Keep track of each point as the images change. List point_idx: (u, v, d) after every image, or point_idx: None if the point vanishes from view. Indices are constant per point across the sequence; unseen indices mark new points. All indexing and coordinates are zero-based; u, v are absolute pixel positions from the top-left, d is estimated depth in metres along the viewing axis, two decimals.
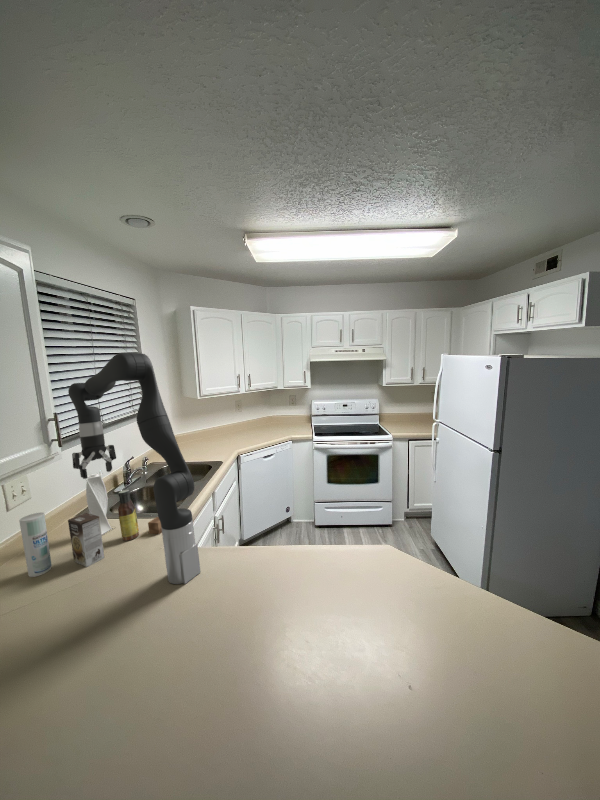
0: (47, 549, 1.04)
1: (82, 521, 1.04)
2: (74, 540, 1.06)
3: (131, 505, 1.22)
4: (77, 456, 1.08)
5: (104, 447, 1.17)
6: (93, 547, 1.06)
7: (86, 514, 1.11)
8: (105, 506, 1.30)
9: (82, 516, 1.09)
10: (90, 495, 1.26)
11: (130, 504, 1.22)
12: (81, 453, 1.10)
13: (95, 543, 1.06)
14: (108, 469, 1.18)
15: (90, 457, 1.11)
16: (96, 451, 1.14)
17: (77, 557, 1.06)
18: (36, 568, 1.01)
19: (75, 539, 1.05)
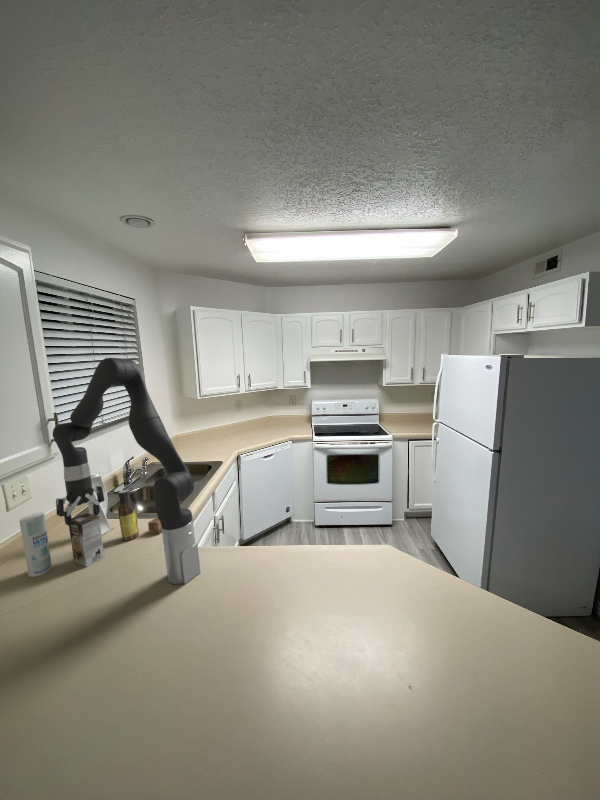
0: (47, 549, 1.04)
1: (82, 521, 1.04)
2: (74, 540, 1.06)
3: (131, 505, 1.22)
4: (61, 503, 1.01)
5: (91, 490, 1.09)
6: (93, 547, 1.06)
7: (86, 514, 1.11)
8: (105, 506, 1.30)
9: (82, 516, 1.09)
10: None
11: (130, 504, 1.22)
12: (66, 499, 1.03)
13: (95, 543, 1.06)
14: (95, 512, 1.11)
15: (75, 502, 1.04)
16: (82, 495, 1.07)
17: (77, 557, 1.06)
18: (36, 568, 1.01)
19: (75, 539, 1.05)
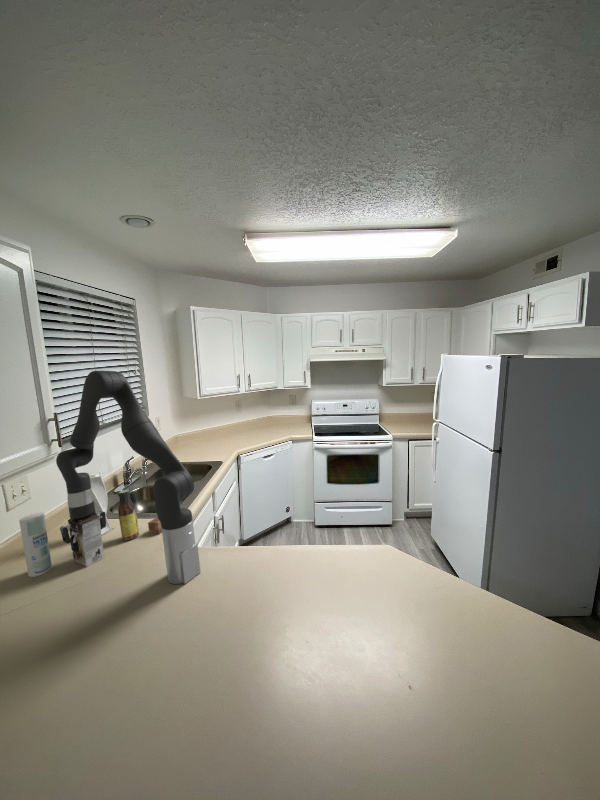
0: (47, 549, 1.04)
1: (82, 521, 1.04)
2: None
3: (131, 505, 1.22)
4: (65, 531, 1.02)
5: None
6: (93, 547, 1.06)
7: None
8: (105, 506, 1.30)
9: None
10: None
11: (130, 504, 1.22)
12: (69, 526, 1.03)
13: (95, 543, 1.06)
14: None
15: None
16: None
17: (77, 557, 1.06)
18: (36, 568, 1.01)
19: None
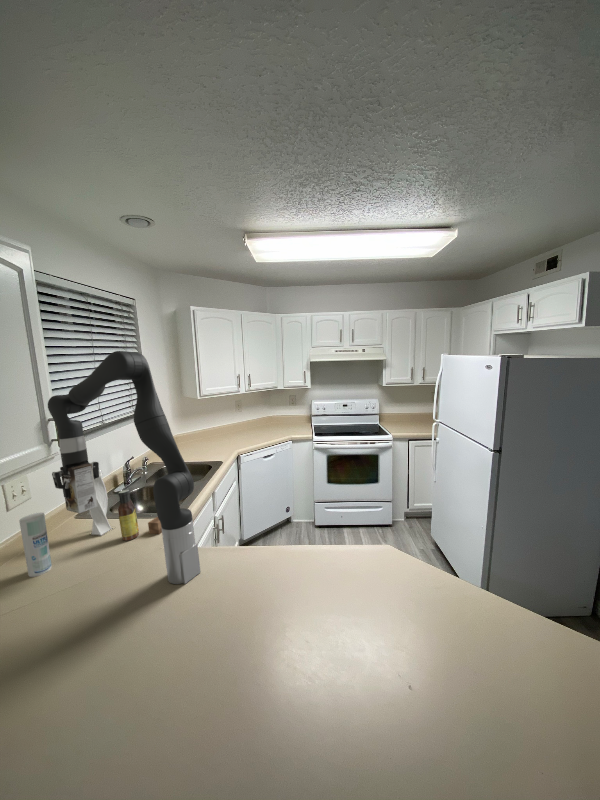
0: (47, 549, 1.04)
1: (74, 467, 1.03)
2: None
3: (131, 505, 1.22)
4: (57, 476, 1.00)
5: (87, 463, 1.09)
6: (86, 494, 1.05)
7: None
8: (105, 506, 1.30)
9: None
10: None
11: (130, 504, 1.22)
12: (62, 471, 1.02)
13: (87, 490, 1.05)
14: None
15: None
16: None
17: (69, 505, 1.05)
18: (36, 568, 1.01)
19: None
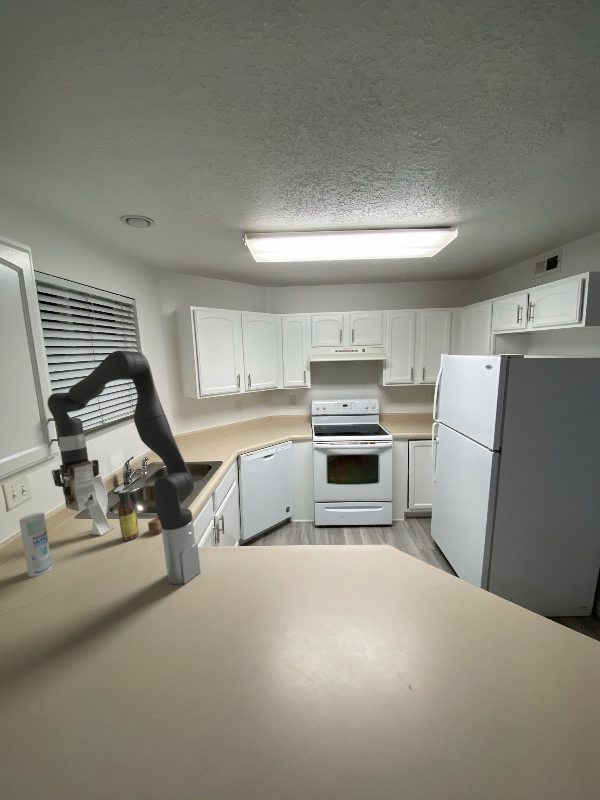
0: (47, 549, 1.04)
1: (74, 465, 1.03)
2: None
3: (131, 505, 1.22)
4: (57, 473, 1.00)
5: (87, 461, 1.09)
6: (86, 492, 1.05)
7: None
8: (105, 506, 1.30)
9: None
10: None
11: (130, 504, 1.22)
12: (61, 469, 1.02)
13: (87, 488, 1.05)
14: None
15: None
16: None
17: (69, 503, 1.05)
18: (36, 568, 1.01)
19: None
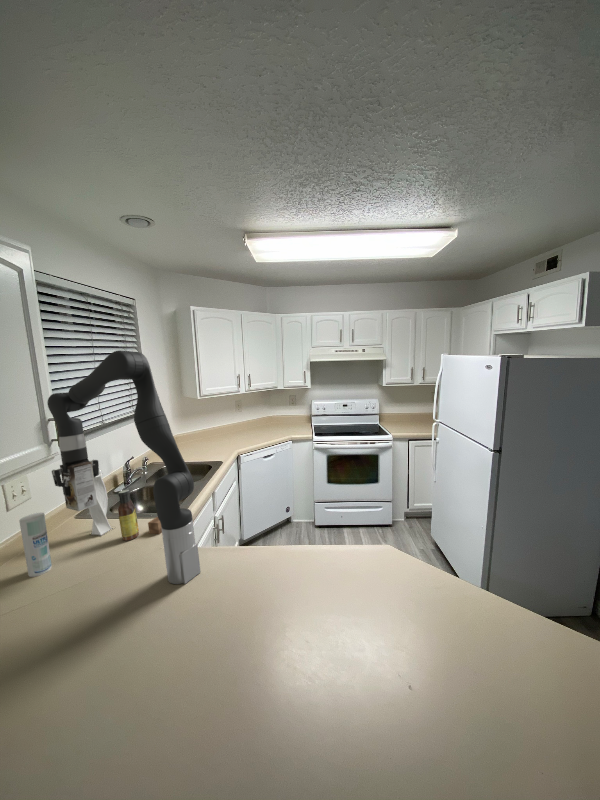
0: (47, 549, 1.04)
1: (74, 465, 1.03)
2: None
3: (131, 505, 1.22)
4: (57, 473, 1.00)
5: (87, 461, 1.09)
6: (86, 492, 1.05)
7: None
8: (105, 506, 1.30)
9: None
10: None
11: (130, 504, 1.22)
12: (61, 469, 1.02)
13: (87, 488, 1.05)
14: None
15: None
16: None
17: (69, 503, 1.05)
18: (36, 568, 1.01)
19: None
